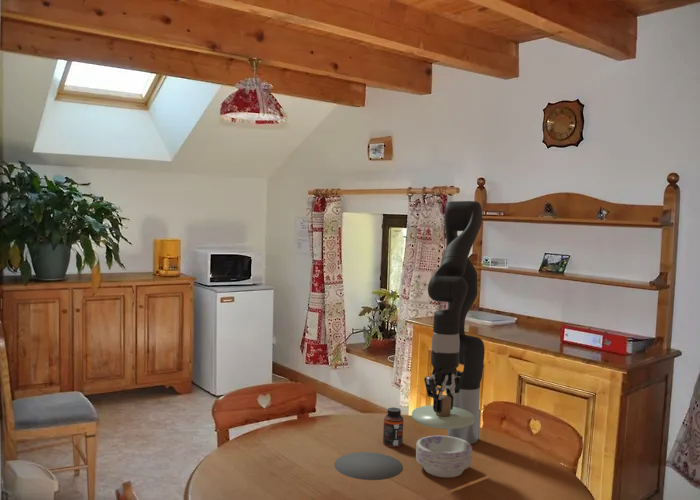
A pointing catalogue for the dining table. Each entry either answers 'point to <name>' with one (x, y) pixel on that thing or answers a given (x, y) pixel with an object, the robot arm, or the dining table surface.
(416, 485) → the dining table surface
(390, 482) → the dining table surface
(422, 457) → the paper bowls
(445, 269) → the robot arm
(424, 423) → the lid
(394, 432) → the supplement bottle
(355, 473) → the mat
